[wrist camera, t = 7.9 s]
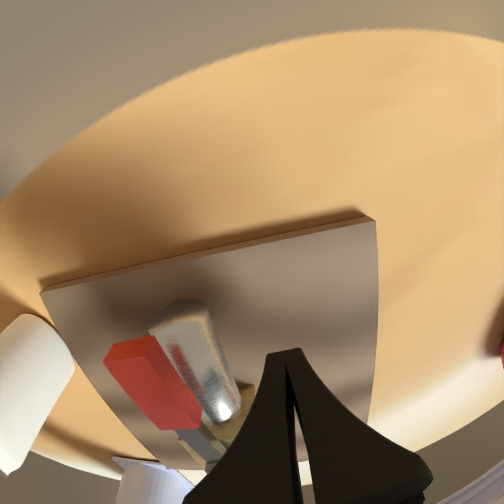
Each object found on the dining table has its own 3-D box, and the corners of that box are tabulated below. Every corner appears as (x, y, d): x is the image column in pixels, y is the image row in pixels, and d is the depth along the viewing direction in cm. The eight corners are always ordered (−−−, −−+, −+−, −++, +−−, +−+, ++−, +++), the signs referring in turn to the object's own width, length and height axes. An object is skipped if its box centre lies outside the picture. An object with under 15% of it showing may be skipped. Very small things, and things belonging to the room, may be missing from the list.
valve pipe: (280, 457, 19) (283, 492, 15) (233, 461, 19) (232, 496, 16) (225, 292, 13) (217, 343, 9) (145, 306, 13) (117, 354, 10)
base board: (360, 439, 20) (362, 446, 19) (168, 461, 22) (167, 468, 21) (367, 216, 13) (375, 220, 12) (47, 286, 14) (38, 293, 13)
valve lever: (252, 462, 13) (253, 478, 12) (216, 466, 13) (215, 481, 12) (158, 333, 9) (149, 354, 8) (110, 343, 9) (98, 362, 8)
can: (32, 296, 15) (-67, 401, 3) (90, 362, 16) (22, 488, 5) (11, 329, 16) (-61, 413, 4) (59, 382, 18) (5, 478, 6)
